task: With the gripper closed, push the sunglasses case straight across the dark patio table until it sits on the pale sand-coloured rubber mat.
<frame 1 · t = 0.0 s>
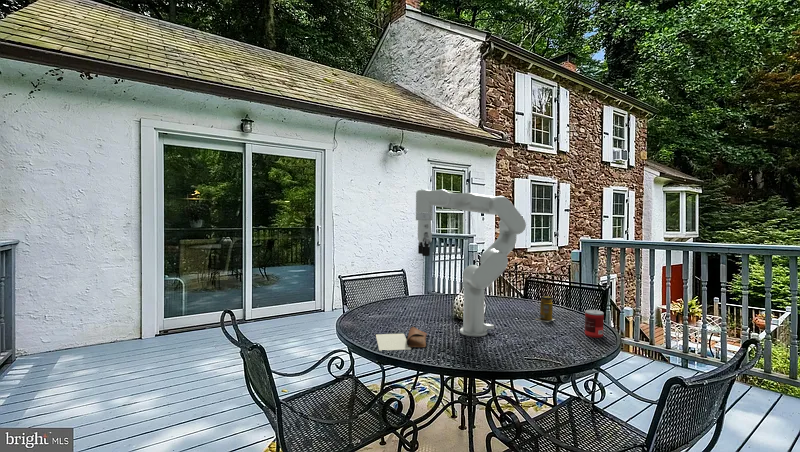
hand: (423, 254, 180), 37 cm above the table, tool pointing down, fingers open, 9 cm apart
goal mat: (392, 341, 171), on the table
sunglasses case: (417, 341, 173), on the table, touching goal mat
canned food: (593, 335, 182), on the table
condiment: (545, 320, 208), on the table
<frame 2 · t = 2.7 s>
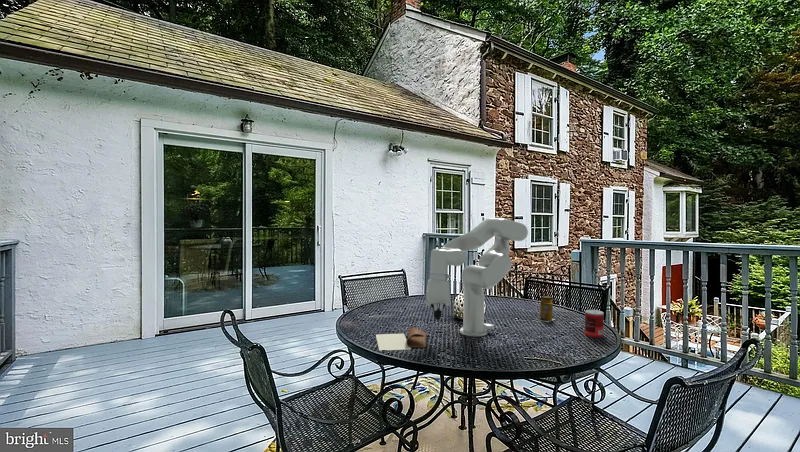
hand: (437, 318, 173), 9 cm above the table, tool pointing down, fingers closed
nothing on the table moved.
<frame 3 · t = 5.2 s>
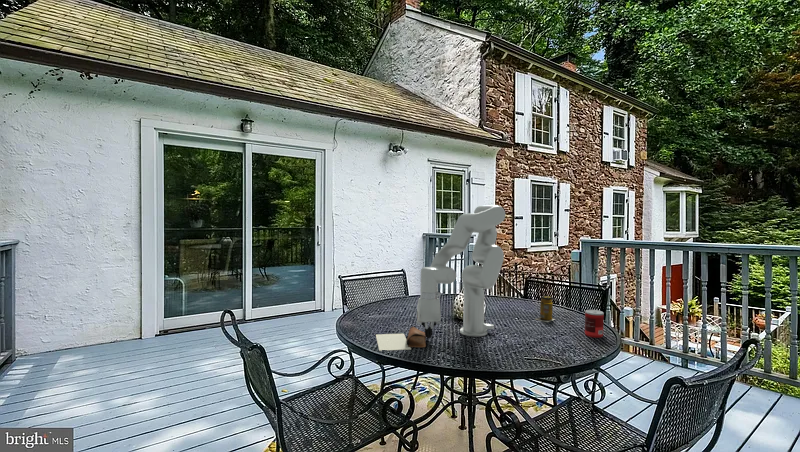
hand: (428, 337, 173), 1 cm above the table, tool pointing down, fingers closed
sunglasses case: (417, 341, 173), on the table, touching gripper
everything else where it was.
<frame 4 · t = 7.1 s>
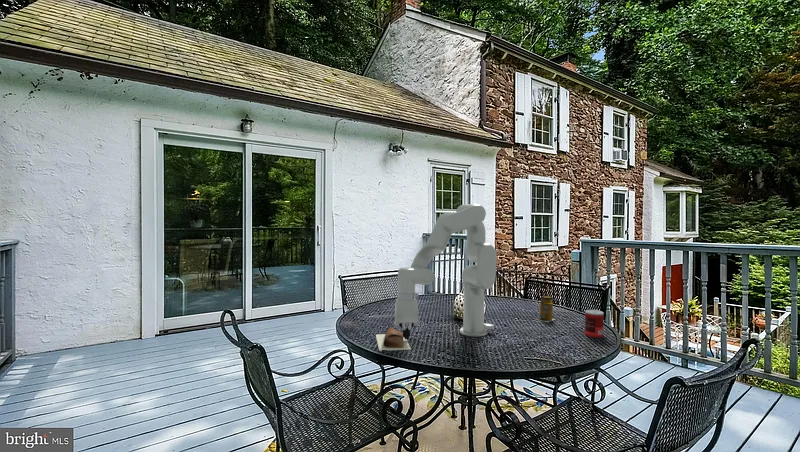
hand: (406, 338, 172), 1 cm above the table, tool pointing down, fingers closed
sunglasses case: (394, 341, 172), resting on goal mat
everything else where it was.
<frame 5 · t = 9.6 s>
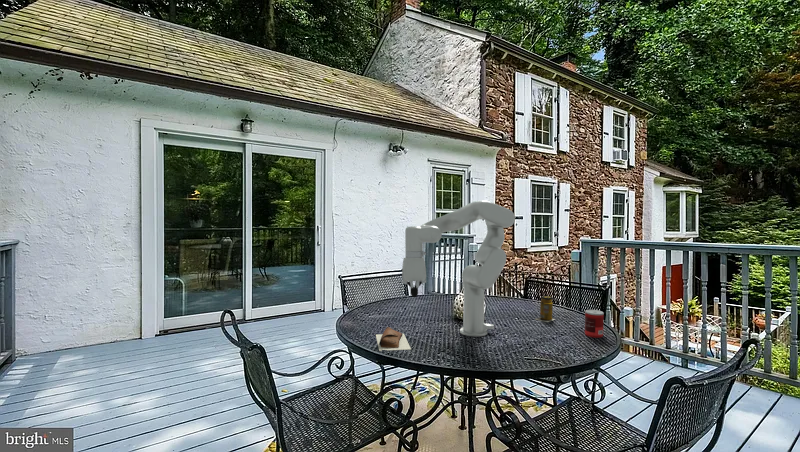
hand: (414, 296, 173), 19 cm above the table, tool pointing down, fingers closed
sunglasses case: (391, 341, 172), resting on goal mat
everything else where it was.
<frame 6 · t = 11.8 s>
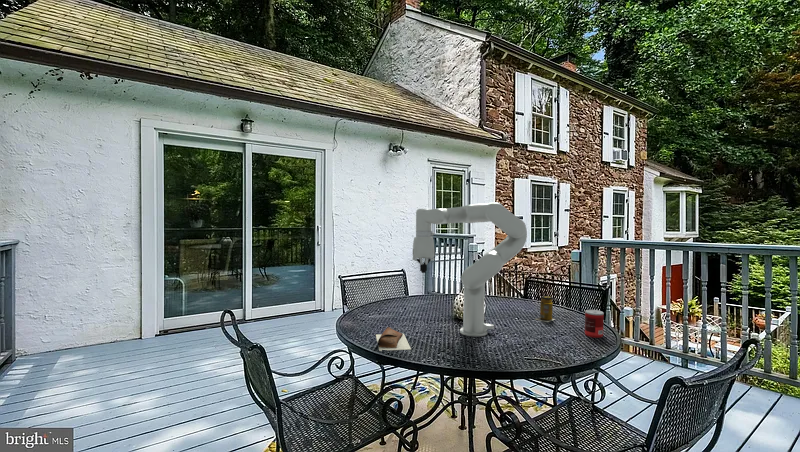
hand: (423, 272, 190), 27 cm above the table, tool pointing down, fingers closed
nothing on the table moved.
at the end: sunglasses case inside the target area on the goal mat (1.0 cm from its centre), point 0.0 cm above the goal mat's base; sunglasses case moved 11.6 cm from its start; sunglasses case tilted 2° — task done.
